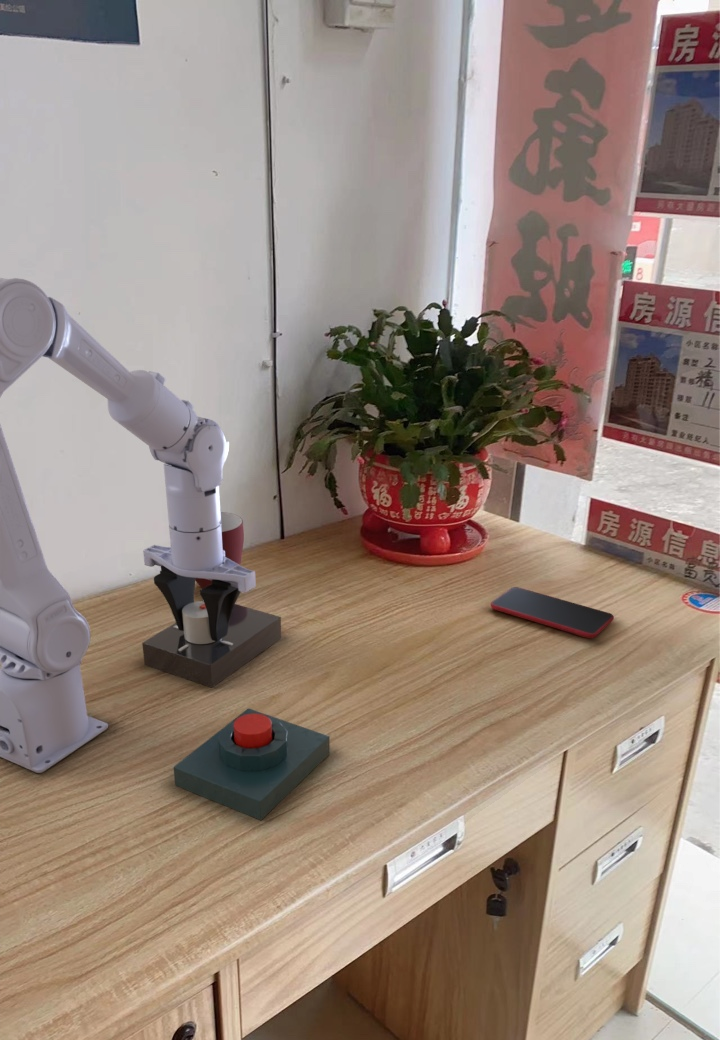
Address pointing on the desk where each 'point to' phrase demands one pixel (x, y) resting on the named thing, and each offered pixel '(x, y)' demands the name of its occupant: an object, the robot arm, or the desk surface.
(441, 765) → the desk surface
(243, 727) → the button
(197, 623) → the knob
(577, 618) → the smartphone
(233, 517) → the mug
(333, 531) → the desk surface
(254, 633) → the panel
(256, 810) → the switch block
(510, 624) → the desk surface
